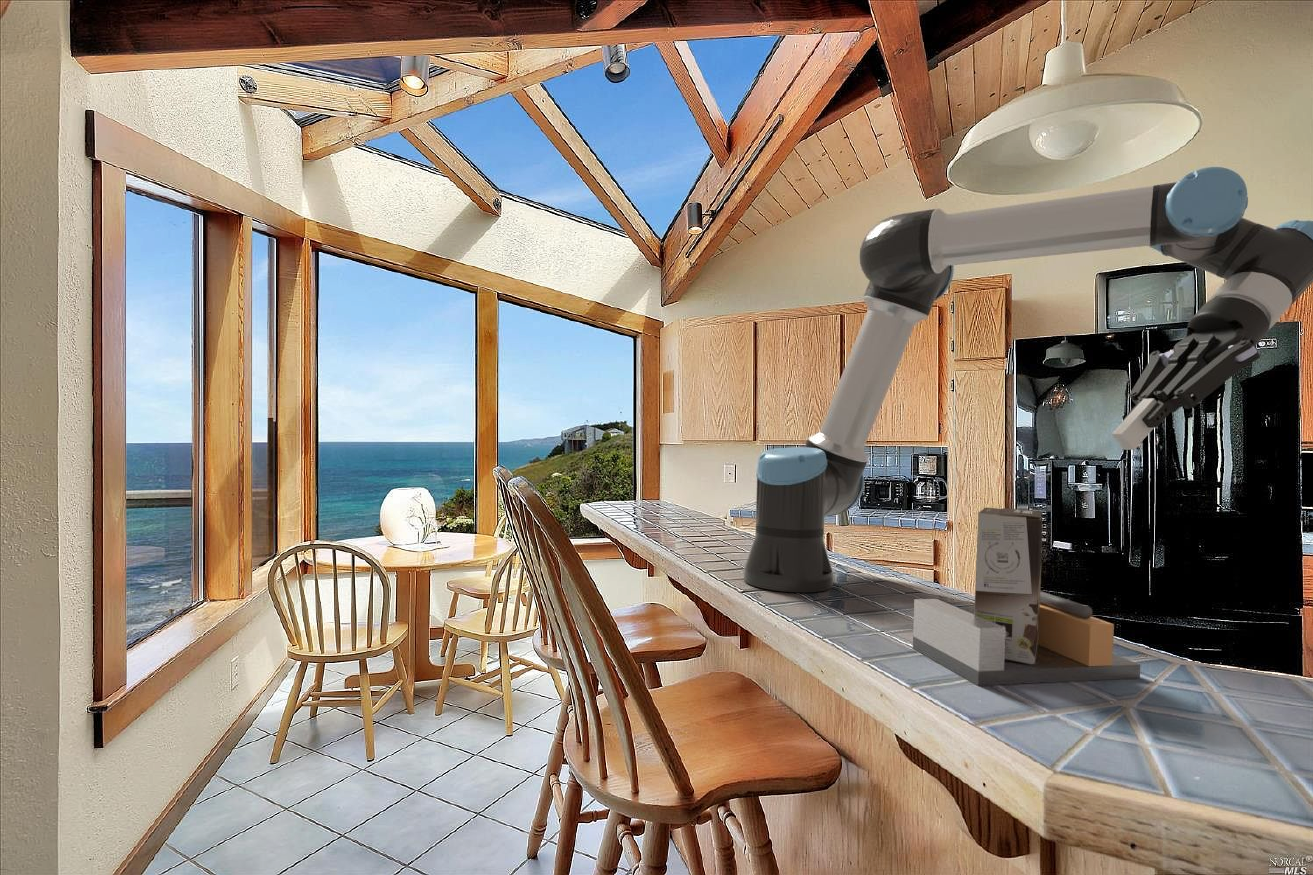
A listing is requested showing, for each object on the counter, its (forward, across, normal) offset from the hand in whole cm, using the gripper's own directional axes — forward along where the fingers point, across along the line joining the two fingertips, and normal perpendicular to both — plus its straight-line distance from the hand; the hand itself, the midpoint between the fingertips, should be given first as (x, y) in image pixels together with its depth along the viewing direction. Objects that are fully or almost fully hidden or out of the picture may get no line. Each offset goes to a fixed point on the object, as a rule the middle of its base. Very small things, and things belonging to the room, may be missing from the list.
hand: (1122, 441), depth 82 cm
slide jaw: (+25, -3, -9) cm, 27 cm away
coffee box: (+30, -3, -5) cm, 31 cm away
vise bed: (+30, -3, -7) cm, 31 cm away
